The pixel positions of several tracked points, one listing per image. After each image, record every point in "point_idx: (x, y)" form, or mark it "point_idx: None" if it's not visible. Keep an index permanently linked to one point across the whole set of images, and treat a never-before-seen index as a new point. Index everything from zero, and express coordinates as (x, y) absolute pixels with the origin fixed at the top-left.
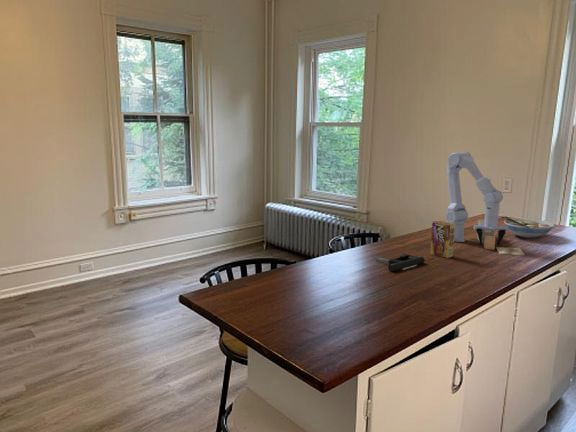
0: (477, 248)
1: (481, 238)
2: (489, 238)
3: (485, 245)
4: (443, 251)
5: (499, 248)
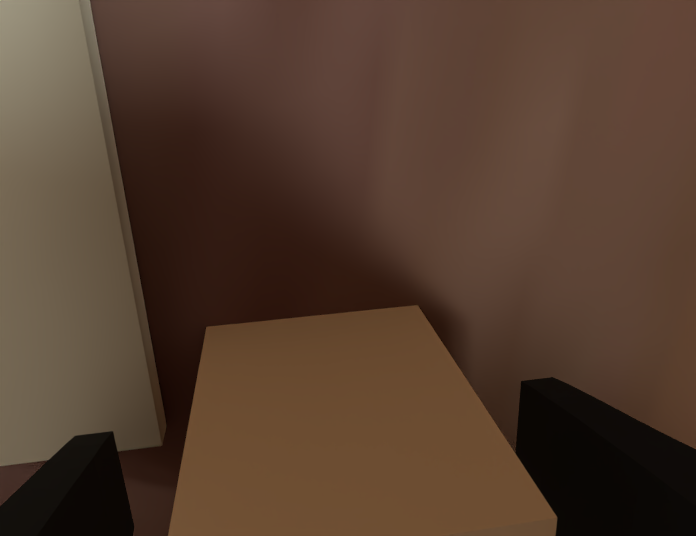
0: (579, 282)
1: (671, 479)
2: (407, 511)
3: (441, 344)
4: None
5: (75, 344)
